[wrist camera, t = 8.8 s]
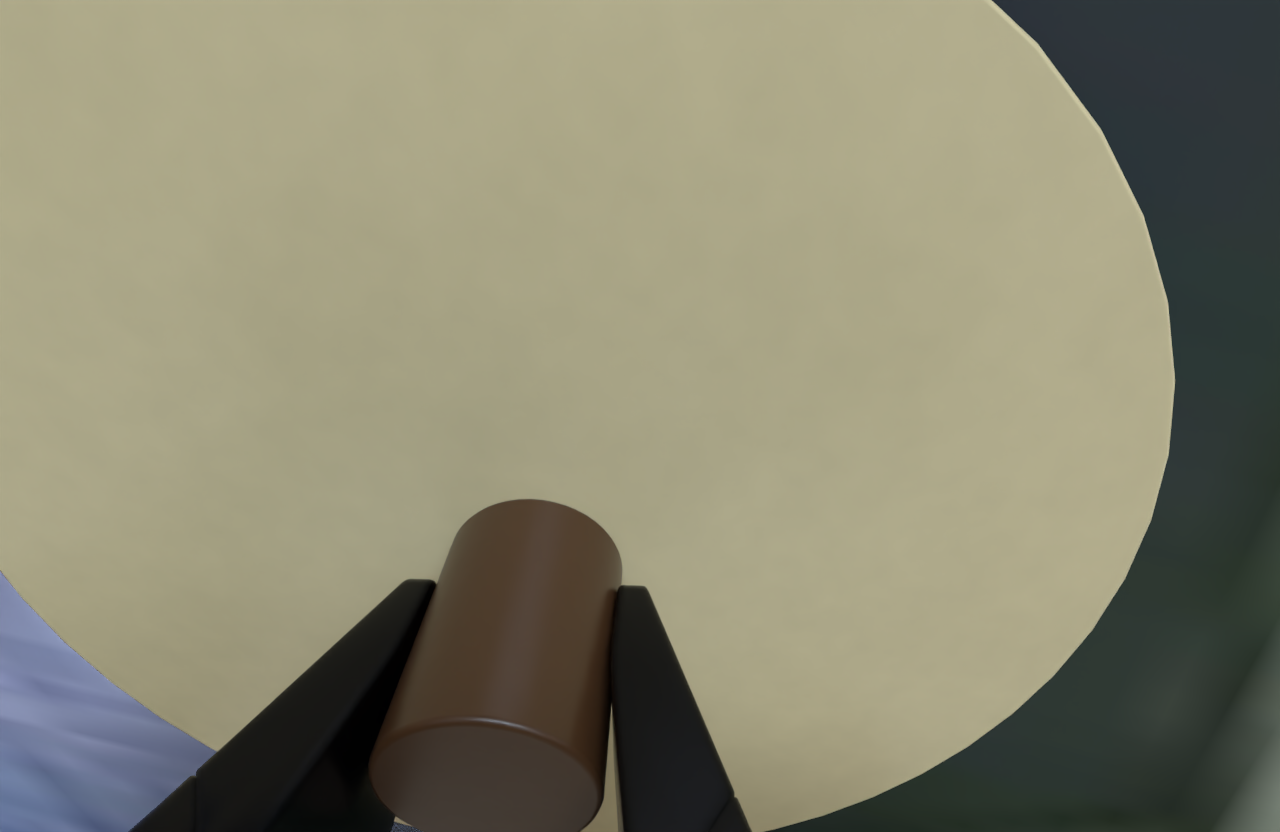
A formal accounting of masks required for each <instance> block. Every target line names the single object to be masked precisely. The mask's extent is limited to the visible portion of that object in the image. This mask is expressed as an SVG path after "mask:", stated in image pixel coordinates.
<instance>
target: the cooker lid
mask: <svg viewBox="0 0 1280 832" xmlns="http://www.w3.org/2000/svg"><path fill="white" fill-rule="evenodd" d="M1174 388H1175V374H1174V364H1173V353H1172V342H1171V331H1170V320H1169V309H1168V301H1167V297H1166V293H1165V290H1164V286H1163V283H1162V279H1161V276H1160V272H1159V269H1158V265H1157V261H1156V258H1155V254H1154V251H1153V247H1152V244H1151V240H1150V236H1149V233H1148V229H1147V226H1146V222H1145V219H1144V215H1143V213H1142V211H1141V209H1140V207H1139V205H1138V203H1137V201H1136V199H1135V197H1134V195H1133V193H1132V191H1131V189H1130V187H1129V185H1128V183H1127V181H1126V179H1125V177H1124V175H1123V173H1122V171H1121V169H1120V167H1119V165H1118V163H1117V160H1116V158H1115V156H1114V154H1113V152H1112V150H1111V148H1110V146H1109V144H1108V142H1107V140H1106V138H1105V136H1104V134H1103V132H1102V130H1101V128H1100V127H1099V126H1098V124H1097V123H1096V122H1095V120H1094V119H1093V118H1092V116H1091V115H1090V114H1089V112H1088V111H1087V110H1086V108H1085V107H1084V105H1083V104H1082V103H1081V101H1080V100H1079V99H1078V97H1077V96H1076V95H1075V93H1074V92H1073V91H1072V89H1071V88H1070V87H1069V85H1068V84H1067V82H1066V81H1065V80H1064V78H1063V77H1062V76H1061V74H1060V73H1059V72H1058V70H1057V69H1056V68H1055V66H1054V65H1053V64H1052V62H1051V61H1050V59H1049V58H1048V57H1047V55H1046V54H1045V53H1044V51H1043V50H1042V49H1041V47H1040V46H1039V45H1038V43H1036V42H1035V41H1034V40H1033V39H1032V38H1031V37H1030V36H1029V35H1028V34H1027V33H1026V32H1025V31H1024V30H1023V29H1022V28H1021V27H1020V26H1019V25H1017V24H1016V23H1015V22H1014V21H1013V20H1012V19H1011V18H1010V17H1009V16H1008V15H1007V14H1006V13H1005V12H1004V11H1003V10H1002V9H1001V8H1000V7H998V6H997V5H996V4H995V3H994V2H993V1H992V0H0V571H1V572H2V574H3V575H4V576H5V577H6V579H7V580H8V581H9V583H10V584H11V585H12V586H13V588H14V589H15V590H16V591H17V593H18V594H19V595H20V596H21V598H22V599H23V600H24V601H25V602H26V603H27V604H28V605H29V606H30V607H31V608H32V609H33V610H34V611H35V612H36V613H37V614H38V615H39V616H40V617H41V618H42V619H43V620H44V621H45V622H46V623H47V625H48V626H49V627H50V628H51V629H52V630H53V631H54V632H55V633H56V634H57V635H58V636H59V637H60V638H61V639H62V640H63V641H64V642H65V643H66V644H67V645H68V646H70V647H71V648H72V649H73V650H74V651H75V652H77V653H78V654H79V655H80V656H81V657H82V658H83V659H85V660H86V661H87V662H88V663H89V664H90V665H92V666H93V667H94V668H95V669H96V670H97V671H99V672H100V673H101V674H102V675H103V676H104V677H106V678H107V679H108V680H109V681H110V682H111V683H113V684H114V685H116V686H117V687H118V688H120V689H121V690H122V691H124V692H125V693H127V694H128V695H129V696H131V697H132V698H134V699H135V700H136V701H138V702H139V703H141V704H142V705H143V706H145V707H146V708H147V709H149V710H150V711H152V712H153V713H154V714H156V715H157V716H159V717H160V718H162V719H163V720H165V721H166V722H168V723H170V724H171V725H173V726H175V727H176V728H178V729H180V730H181V731H183V732H185V733H186V734H188V735H190V736H191V737H193V738H194V739H196V740H198V741H199V742H201V743H203V744H204V745H206V746H208V747H209V748H211V749H213V750H215V751H217V752H218V751H219V750H220V749H221V748H222V747H223V746H224V745H225V744H226V743H227V742H228V741H230V740H231V739H232V738H233V737H234V736H235V735H236V734H237V733H238V732H239V731H240V730H242V729H243V728H244V727H245V726H246V725H247V724H248V723H249V722H250V721H251V720H252V719H254V718H255V717H256V716H257V715H258V714H259V713H260V712H261V711H262V710H263V709H264V708H266V707H267V706H268V705H269V704H270V703H271V702H272V701H273V700H274V699H275V698H276V697H278V696H279V695H280V694H281V693H282V692H283V691H284V690H285V689H286V688H287V687H288V686H290V685H291V684H292V683H293V682H294V681H295V680H296V679H297V678H298V677H299V676H300V675H302V674H303V673H304V672H305V671H306V670H307V669H308V668H309V667H310V666H311V665H312V664H314V663H315V662H316V661H317V660H318V659H319V658H320V657H321V656H322V655H323V654H324V653H326V652H327V651H328V650H329V649H330V648H331V647H332V646H333V645H334V644H335V643H336V642H338V641H339V640H340V639H341V638H342V637H343V636H344V635H345V634H346V633H347V632H348V631H350V630H351V629H352V628H353V627H354V626H355V625H356V624H357V623H358V622H359V621H360V620H362V619H363V618H364V617H365V616H366V615H367V614H368V613H369V612H370V611H371V610H372V609H374V608H375V607H376V606H377V605H378V604H379V603H380V602H381V601H382V600H383V599H384V598H385V597H387V596H388V595H389V594H390V593H391V592H392V591H393V590H394V589H395V588H396V587H397V586H399V585H400V584H401V583H402V582H403V581H405V580H407V579H431V580H434V581H435V582H436V587H435V589H434V592H433V594H432V597H431V600H430V602H429V605H428V607H427V610H426V613H425V615H424V618H423V620H422V623H421V626H420V628H419V631H418V633H417V636H416V638H415V641H414V644H413V646H412V649H411V651H410V654H409V657H408V659H407V662H406V664H405V667H404V669H403V672H402V675H401V677H400V680H399V682H398V685H397V688H396V690H395V693H394V695H393V698H392V701H391V703H390V706H389V708H388V711H387V713H386V716H385V719H384V721H383V724H382V726H381V729H380V732H379V734H378V737H377V739H376V742H375V745H374V747H373V750H372V752H371V755H370V759H369V763H368V768H369V780H370V784H371V787H372V789H373V791H374V793H375V795H376V796H377V798H378V799H379V800H380V802H381V803H382V804H383V805H384V806H385V807H386V808H387V809H388V810H389V811H390V812H391V813H393V814H394V815H395V816H396V817H395V820H394V822H397V823H401V824H405V825H408V826H412V827H414V828H416V829H418V830H420V831H423V832H618V821H617V805H616V789H615V773H614V754H613V724H612V693H611V662H610V657H611V643H612V634H613V625H614V616H615V607H616V598H617V590H618V588H619V586H621V585H640V586H645V587H646V588H647V589H648V591H649V593H650V595H651V597H652V600H653V602H654V604H655V607H656V609H657V611H658V614H659V616H660V618H661V621H662V623H663V625H664V628H665V630H666V633H667V635H668V637H669V640H670V642H671V644H672V647H673V649H674V651H675V654H676V656H677V658H678V661H679V663H680V665H681V668H682V670H683V672H684V675H685V677H686V679H687V682H688V684H689V686H690V689H691V691H692V693H693V696H694V698H695V700H696V703H697V705H698V707H699V710H700V712H701V714H702V717H703V719H704V721H705V724H706V726H707V728H708V731H709V733H710V735H711V738H712V740H713V742H714V745H715V747H716V749H717V752H718V754H719V757H720V759H721V761H722V764H723V766H724V768H725V771H726V773H727V775H728V778H729V780H730V782H731V785H732V787H733V789H734V792H735V795H734V797H736V798H738V800H739V803H740V805H741V807H742V810H743V812H744V814H745V817H746V819H747V821H748V824H749V826H750V828H751V830H752V832H764V831H769V830H774V829H777V828H781V827H785V826H788V825H792V824H795V823H799V822H802V821H806V820H809V819H813V818H816V817H820V816H824V815H826V814H829V813H832V812H834V811H837V810H840V809H842V808H845V807H848V806H851V805H853V804H856V803H859V802H861V801H864V800H867V799H869V798H872V797H874V796H877V795H879V794H881V793H883V792H885V791H887V790H889V789H891V788H894V787H896V786H898V785H900V784H902V783H904V782H906V781H908V780H910V779H913V778H915V777H917V776H919V775H921V774H923V773H924V772H926V771H928V770H930V769H931V768H933V767H935V766H936V765H938V764H940V763H941V762H943V761H945V760H946V759H948V758H950V757H951V756H953V755H955V754H957V753H958V752H960V751H962V750H963V749H965V748H967V747H968V746H970V745H971V744H972V743H974V742H975V741H976V740H978V739H979V738H980V737H982V736H983V735H985V734H986V733H987V732H989V731H990V730H991V729H993V728H994V727H995V726H997V725H998V724H999V723H1001V722H1002V721H1004V720H1005V719H1006V718H1008V717H1009V716H1010V715H1012V714H1013V713H1014V712H1015V711H1016V710H1017V709H1018V708H1019V707H1020V706H1022V705H1023V704H1024V703H1025V702H1026V701H1027V700H1028V699H1029V698H1030V697H1031V696H1032V695H1033V694H1034V693H1036V692H1037V691H1038V690H1039V689H1040V688H1041V687H1042V686H1043V685H1044V684H1045V683H1046V682H1047V681H1049V680H1050V679H1051V678H1052V677H1053V676H1054V675H1055V674H1056V673H1057V671H1058V670H1059V669H1060V668H1061V667H1062V665H1063V664H1064V663H1065V662H1066V661H1067V660H1068V658H1069V657H1070V656H1071V655H1072V654H1073V652H1074V651H1075V650H1076V649H1077V648H1078V646H1079V645H1080V644H1081V643H1082V642H1083V641H1084V639H1085V638H1086V637H1087V636H1088V635H1089V633H1090V632H1091V631H1092V630H1093V628H1094V627H1095V625H1096V624H1097V622H1098V620H1099V619H1100V617H1101V616H1102V614H1103V613H1104V611H1105V609H1106V608H1107V606H1108V605H1109V603H1110V602H1111V600H1112V598H1113V597H1114V595H1115V594H1116V592H1117V590H1118V589H1119V587H1120V586H1121V584H1122V583H1123V581H1124V579H1125V578H1126V575H1127V573H1128V571H1129V569H1130V566H1131V564H1132V562H1133V560H1134V557H1135V555H1136V553H1137V551H1138V548H1139V546H1140V544H1141V542H1142V539H1143V537H1144V535H1145V533H1146V531H1147V528H1148V526H1149V524H1150V522H1151V519H1152V515H1153V511H1154V508H1155V504H1156V500H1157V496H1158V492H1159V489H1160V485H1161V481H1162V477H1163V474H1164V470H1165V466H1166V462H1167V458H1168V455H1169V445H1170V433H1171V422H1172V411H1173V399H1174Z"/></svg>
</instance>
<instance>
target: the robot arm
mask: <svg viewBox="0 0 1280 832" xmlns="http://www.w3.org/2000/svg"><path fill="white" fill-rule="evenodd" d="M435 587H436V582H435V581H434V580H431V579H407V580H405V581H403V582H402V583H401V584H400V585H399V586H397V587H396V588H395V589H394V590H393V591H392V592H391V593H390V594H389V595H388V596H387V597H385V598H384V599H383V600H382V601H381V602H380V603H379V604H378V605H377V606H376V607H375V608H374V609H372V610H371V611H370V612H369V613H368V614H367V615H366V616H365V617H364V618H363V619H362V620H360V621H359V622H358V623H357V624H356V625H355V626H354V627H353V628H352V629H351V630H350V631H348V632H347V633H346V634H345V635H344V636H343V637H342V638H341V639H340V640H339V641H338V642H336V643H335V644H334V645H333V646H332V647H331V648H330V649H329V650H328V651H327V652H326V653H324V654H323V655H322V656H321V657H320V658H319V659H318V660H317V661H316V662H315V663H314V664H312V665H311V666H310V667H309V668H308V669H307V670H306V671H305V672H304V673H303V674H302V675H300V676H299V677H298V678H297V679H296V680H295V681H294V682H293V683H292V684H291V685H290V686H288V687H287V688H286V689H285V690H284V691H283V692H282V693H281V694H280V695H279V696H278V697H276V698H275V699H274V700H273V701H272V702H271V703H270V704H269V705H268V706H267V707H266V708H264V709H263V710H262V711H261V712H260V713H259V714H258V715H257V716H256V717H255V718H254V719H252V720H251V721H250V722H249V723H248V724H247V725H246V726H245V727H244V728H243V729H242V730H240V731H239V732H238V733H237V734H236V735H235V736H234V737H233V738H232V739H231V740H230V741H228V742H227V743H226V744H225V745H224V746H223V747H222V748H221V749H220V750H219V751H218V752H216V753H215V754H214V755H213V756H212V757H211V758H210V759H209V760H208V761H207V762H206V763H204V764H203V765H202V766H201V767H200V768H199V769H198V770H197V772H196V776H190V777H189V778H188V779H187V780H186V781H184V782H183V783H182V784H181V785H180V786H179V787H178V788H177V789H176V790H175V791H174V792H172V793H171V794H170V795H169V796H168V797H167V798H166V799H165V800H164V801H163V802H162V803H160V804H159V805H158V806H157V807H156V808H155V809H154V810H152V811H151V812H150V813H149V814H148V815H147V816H146V817H145V818H143V819H142V820H141V821H140V822H139V823H138V824H137V825H135V826H134V827H133V828H132V829H131V830H130V831H129V832H391V829H392V826H393V823H394V820H395V817H396V816H395V815H394V814H393V813H391V812H390V811H389V810H388V809H387V808H386V807H385V806H384V805H383V804H382V803H381V802H380V800H379V799H378V798H377V796H376V795H375V793H374V791H373V789H372V787H371V784H370V780H369V768H368V763H369V759H370V755H371V752H372V750H373V747H374V745H375V742H376V739H377V737H378V734H379V732H380V729H381V726H382V724H383V721H384V719H385V716H386V713H387V711H388V708H389V706H390V703H391V701H392V698H393V695H394V693H395V690H396V688H397V685H398V682H399V680H400V677H401V675H402V672H403V669H404V667H405V664H406V662H407V659H408V657H409V654H410V651H411V649H412V646H413V644H414V641H415V638H416V636H417V633H418V631H419V628H420V626H421V623H422V620H423V618H424V615H425V613H426V610H427V607H428V605H429V602H430V600H431V597H432V594H433V592H434V589H435ZM610 662H611V693H612V724H613V754H614V773H615V789H616V805H617V821H618V832H752V830H751V828H750V826H749V824H748V821H747V819H746V817H745V814H744V812H743V810H742V807H741V805H740V803H739V800H738V798H736V797H734V795H735V792H734V789H733V787H732V785H731V782H730V780H729V778H728V775H727V773H726V771H725V768H724V766H723V764H722V761H721V759H720V757H719V754H718V752H717V749H716V747H715V745H714V742H713V740H712V738H711V735H710V733H709V731H708V728H707V726H706V724H705V721H704V719H703V717H702V714H701V712H700V710H699V707H698V705H697V703H696V700H695V698H694V696H693V693H692V691H691V689H690V686H689V684H688V682H687V679H686V677H685V675H684V672H683V670H682V668H681V665H680V663H679V661H678V658H677V656H676V654H675V651H674V649H673V647H672V644H671V642H670V640H669V637H668V635H667V633H666V630H665V628H664V625H663V623H662V621H661V618H660V616H659V614H658V611H657V609H656V607H655V604H654V602H653V600H652V597H651V595H650V593H649V591H648V589H647V588H646V587H645V586H640V585H621V586H619V588H618V590H617V598H616V607H615V616H614V625H613V634H612V643H611V657H610Z"/></svg>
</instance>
